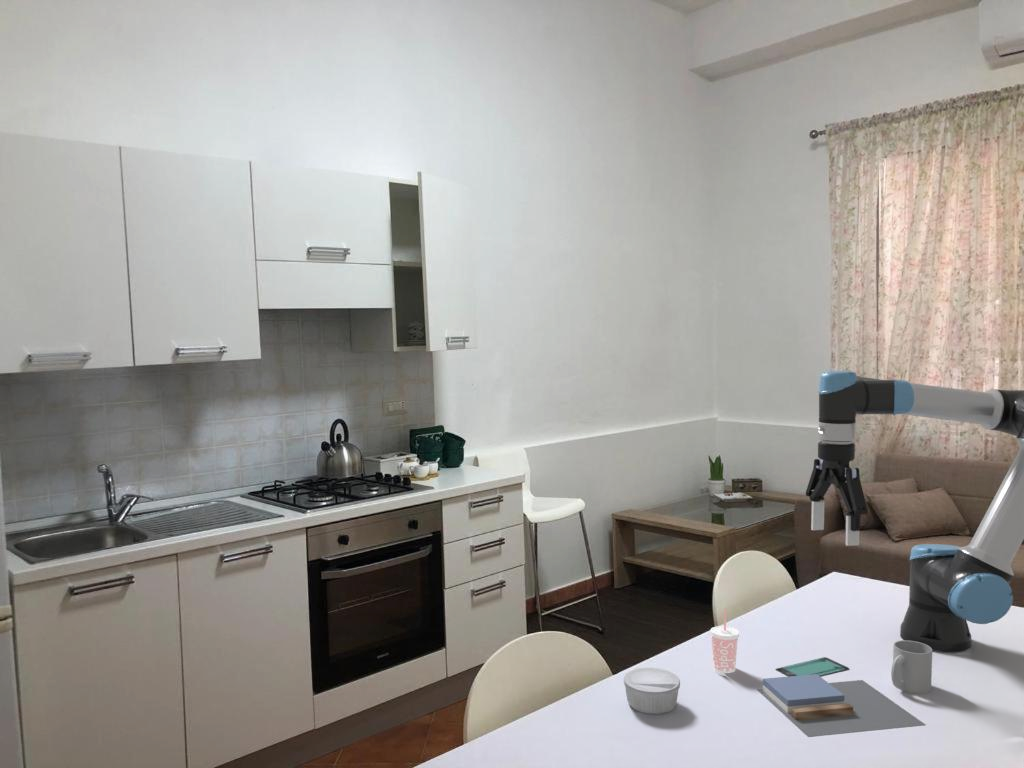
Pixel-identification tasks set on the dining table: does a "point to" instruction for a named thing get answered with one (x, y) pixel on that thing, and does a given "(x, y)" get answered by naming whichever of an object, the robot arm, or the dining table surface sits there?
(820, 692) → the blue-grey flat block
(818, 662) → the smartphone
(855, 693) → the mat
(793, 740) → the dining table surface
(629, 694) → the ramekin
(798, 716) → the strip
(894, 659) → the cup
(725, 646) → the beverage cup
